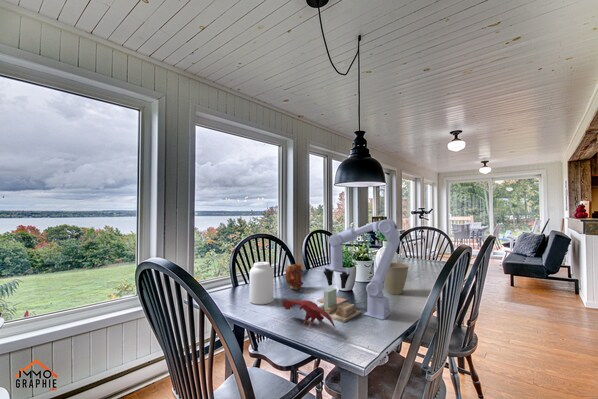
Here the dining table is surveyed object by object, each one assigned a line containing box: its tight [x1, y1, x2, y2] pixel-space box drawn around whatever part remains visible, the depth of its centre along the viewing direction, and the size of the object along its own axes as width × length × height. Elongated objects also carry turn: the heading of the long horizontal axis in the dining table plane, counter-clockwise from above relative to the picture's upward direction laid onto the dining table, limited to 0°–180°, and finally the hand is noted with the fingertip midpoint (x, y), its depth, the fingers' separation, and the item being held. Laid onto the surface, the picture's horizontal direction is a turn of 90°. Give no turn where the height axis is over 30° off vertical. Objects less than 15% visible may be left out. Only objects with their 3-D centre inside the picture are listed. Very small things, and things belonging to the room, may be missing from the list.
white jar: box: [249, 261, 275, 305], centre depth 154 cm, size 12×12×20 cm
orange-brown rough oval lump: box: [285, 263, 304, 290], centre depth 175 cm, size 15×8×15 cm, turn 149°
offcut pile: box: [336, 302, 357, 318], centre depth 133 cm, size 5×9×3 cm, turn 139°
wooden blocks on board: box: [318, 303, 361, 323], centre depth 136 cm, size 16×14×3 cm
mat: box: [316, 296, 348, 304], centre depth 154 cm, size 11×11×1 cm
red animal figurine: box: [282, 299, 336, 328], centre depth 123 cm, size 28×9×15 cm
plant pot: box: [384, 262, 409, 296], centre depth 168 cm, size 15×15×16 cm
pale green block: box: [323, 287, 338, 311], centre depth 139 cm, size 2×7×9 cm, turn 139°
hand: (336, 286), depth 143 cm, fingers open, 7 cm apart
